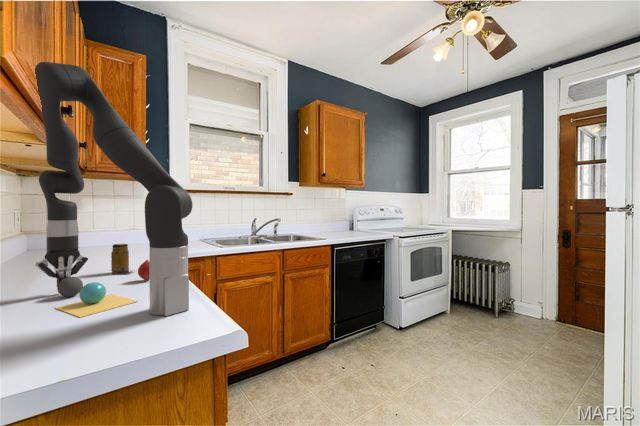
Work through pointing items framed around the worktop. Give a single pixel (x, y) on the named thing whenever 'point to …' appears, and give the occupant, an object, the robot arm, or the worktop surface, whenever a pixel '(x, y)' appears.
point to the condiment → (120, 260)
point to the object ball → (92, 293)
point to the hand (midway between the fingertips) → (63, 289)
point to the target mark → (95, 306)
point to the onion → (144, 270)
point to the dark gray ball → (70, 286)
